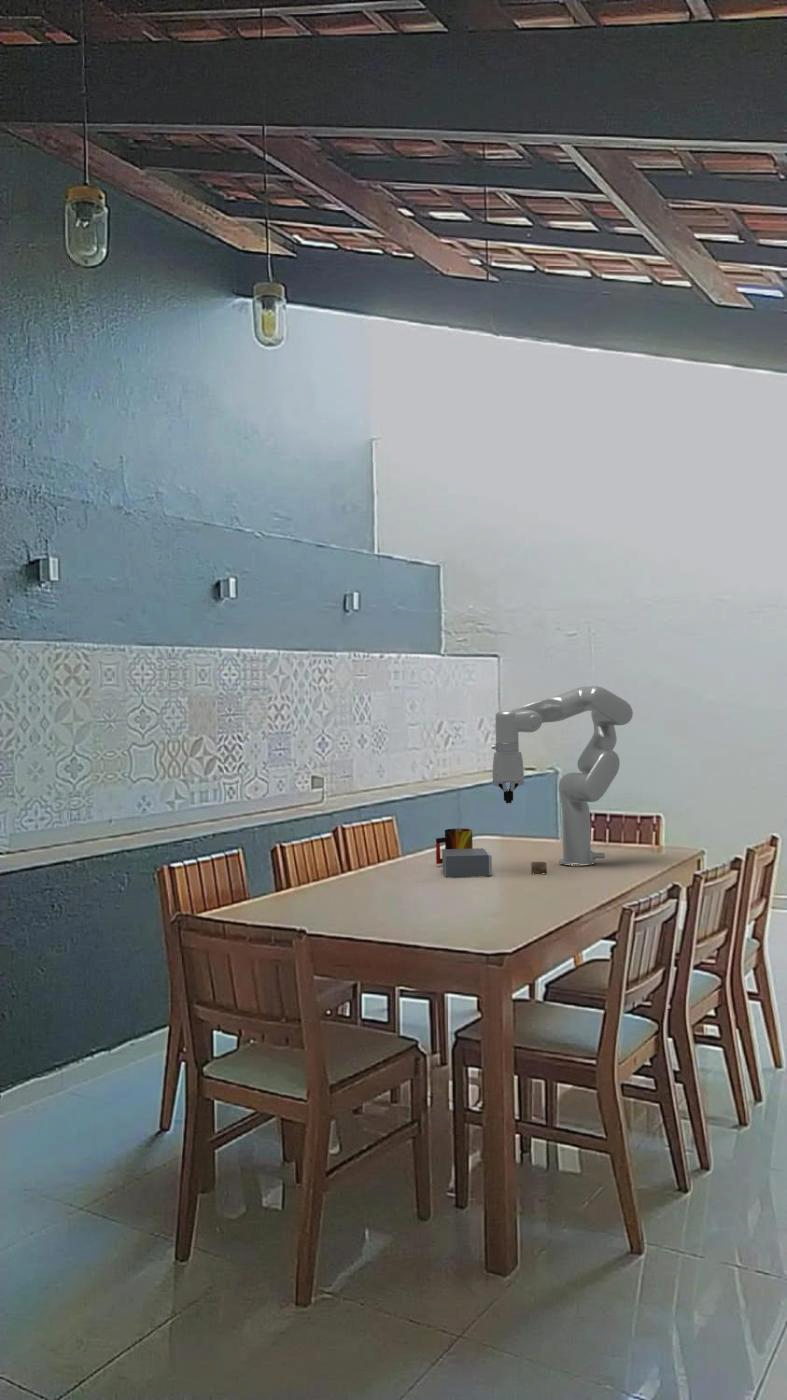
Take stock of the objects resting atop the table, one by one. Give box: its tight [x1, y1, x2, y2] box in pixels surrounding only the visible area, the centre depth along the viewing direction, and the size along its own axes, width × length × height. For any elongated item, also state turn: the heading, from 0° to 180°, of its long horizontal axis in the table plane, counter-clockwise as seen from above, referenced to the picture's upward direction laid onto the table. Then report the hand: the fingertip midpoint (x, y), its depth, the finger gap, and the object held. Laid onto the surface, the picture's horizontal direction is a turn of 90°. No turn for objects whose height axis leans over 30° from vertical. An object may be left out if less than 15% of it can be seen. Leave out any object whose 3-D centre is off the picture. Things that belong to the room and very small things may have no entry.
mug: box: [435, 828, 474, 865], centre depth 407 cm, size 10×14×12 cm
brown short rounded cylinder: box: [530, 861, 548, 875], centre depth 383 cm, size 5×5×4 cm
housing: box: [441, 847, 490, 878], centre depth 388 cm, size 14×17×7 cm
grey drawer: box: [483, 848, 493, 876], centre depth 388 cm, size 13×15×6 cm
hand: (508, 802), depth 388 cm, fingers closed
